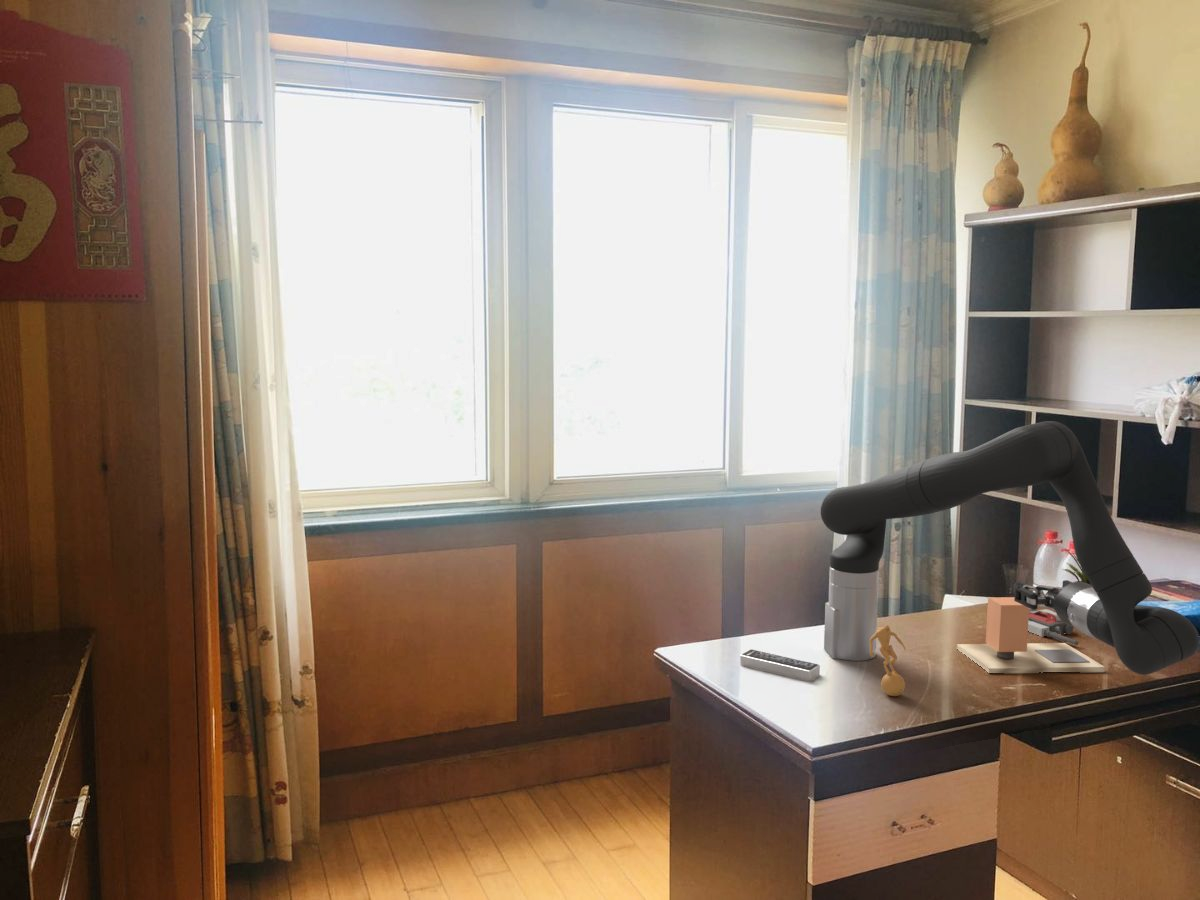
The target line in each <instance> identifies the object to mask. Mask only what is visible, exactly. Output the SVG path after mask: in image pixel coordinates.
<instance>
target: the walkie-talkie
mask: <svg viewBox="0 0 1200 900" xmlns="http://www.w3.org/2000/svg"><path fill="white" fill-rule="evenodd" d="M1028 631H1029V632H1032V633H1034V634H1033V635H1035V634H1037V635H1039V636H1047V637H1048V638H1053V639H1055V640H1059V641H1061V642H1063V643H1070V644H1073V645H1076V646H1078V645H1079V641H1078V640H1075V639H1072V638H1069V637H1067V636H1064V635H1059V634H1064V633H1066V634H1065V635H1068V634H1070V635H1071V634H1073V632H1074V628H1073V627H1071V626H1069V625H1067V624H1065V623H1064V622H1063V621H1062V620H1061V619H1060V618H1059V617H1058V615H1057V613H1056V612H1055V611H1054V610H1052V609H1049V608H1047V609H1046V608H1045V609H1044V608H1043V609H1035V610H1033V609H1030V608H1029V621H1028ZM1029 632H1028V633H1029ZM1032 633H1031V634H1032ZM1037 635H1036V636H1037ZM1039 636H1038V637H1039Z"/></svg>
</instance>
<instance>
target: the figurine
mask: <svg viewBox="0 0 1200 900" xmlns="http://www.w3.org/2000/svg"><path fill="white" fill-rule="evenodd" d="M890 628H891V627H890V626H889V625H885V626H878V627H877V628H876V633H875V634H874V635H873V636H872V637H871V638H870V640H869V642H870V656H872V659H873V657H874V655H875V656H876V653H875V654H874V653H873V652H872V651H873V645H872V644H873V640H874V639H876V640H878V641H879V644H880V646H881V647H880V648H879V651H880V653H881V655H882V657H883V658H884V661H883V666H884V670H885V672H886V674H884V675H883V677H882V679H881V681H880V685H881V689H882V691H883V692H884V693H885V694H886V695H887V696H890V697H898V696H900V695H902V693H904V691H905V688H906V682H905V680H904V677H903V676H902V675H900V674H899V673H898V671H896V669H895V668H894V665H893V664H894V663H895V662H896V661H897V660H898V655H897V654H896V652H895V651H894V648H893V645H892V644H890V642H891V641H890V640H891V636H892V637H894V638H895V639H896V640H897V642H898V643H899V644H900V645H901V646H902V647H903V649H904V651H906V647H905V645H904V643H903V642H902V640H901V639H900V638H899V637H898V635H897V633H895V632H893V631H891V629H890ZM873 654H874V655H873ZM874 658H875V657H874ZM888 664H889V667H890V669H891V671H890V670H889V668H888V666H887V665H888Z"/></svg>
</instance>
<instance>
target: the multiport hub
mask: <svg viewBox="0 0 1200 900" xmlns="http://www.w3.org/2000/svg"><path fill="white" fill-rule="evenodd" d="M739 657H740V658H739V660H740V661H739V662H740V663H739V664H740V666H744V667H748V668H752V669H757V670H761V671H764V672H769V673H773V674H776V675H781V676H785V677H789V678H793V677H794V679H797V678H798V680H801V679H802V681H805V682H806V681H807V682H812V681H813V680H815V679H816V678H817V677H819V676H820V675H821V674H820V673H821V672H820V671H821V670H820V669H821V668H820V667H821V665H820V664H818V663H813V662H809V661H804V660H800V659H797V658H796V659H795V658H791V657H787V656H784V655H777V654H774V653H770V652H766V651H765V652H764V651H761V650H760V651H759V650H755V649H749V650H747V651H745V652H743V653H741V654H740V656H739Z"/></svg>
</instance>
